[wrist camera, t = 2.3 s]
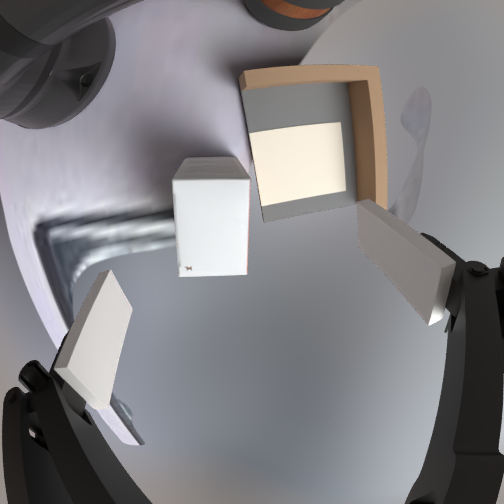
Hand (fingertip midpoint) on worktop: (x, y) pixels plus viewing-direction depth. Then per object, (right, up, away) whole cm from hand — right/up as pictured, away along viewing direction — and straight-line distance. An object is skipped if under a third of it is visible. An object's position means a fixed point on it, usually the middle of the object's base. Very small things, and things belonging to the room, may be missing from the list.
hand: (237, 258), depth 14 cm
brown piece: (+7, +12, +14) cm, 20 cm away
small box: (-4, +7, +16) cm, 17 cm away
